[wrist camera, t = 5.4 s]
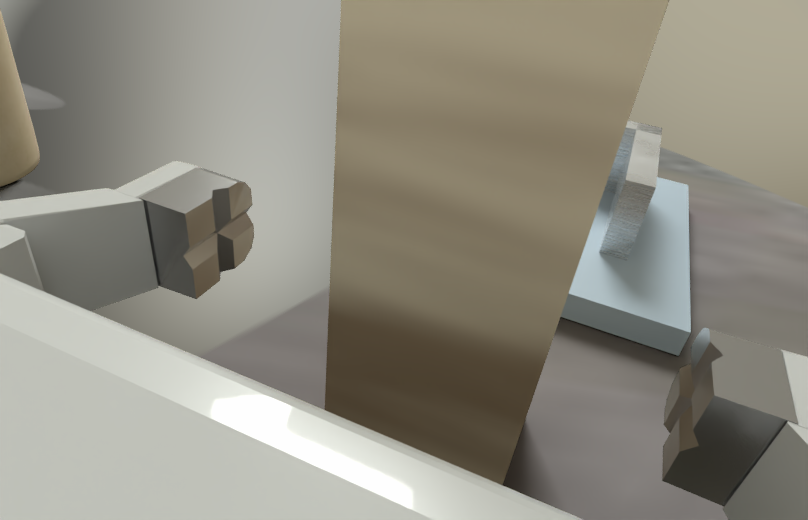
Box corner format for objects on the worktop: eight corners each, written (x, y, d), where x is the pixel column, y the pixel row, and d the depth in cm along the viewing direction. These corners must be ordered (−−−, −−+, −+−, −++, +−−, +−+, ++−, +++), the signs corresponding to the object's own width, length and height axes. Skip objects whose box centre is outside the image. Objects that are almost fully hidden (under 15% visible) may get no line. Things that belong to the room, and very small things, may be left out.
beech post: (483, 540, 12) (672, -9, 6) (322, 467, 13) (344, -64, 7) (523, 412, 15) (676, -36, 9) (391, 361, 16) (447, -72, 10)
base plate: (345, 245, 21) (347, 222, 21) (449, 142, 31) (452, 125, 30) (678, 355, 18) (690, 332, 17) (680, 203, 27) (688, 185, 27)
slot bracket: (433, 203, 23) (444, 132, 21) (480, 149, 28) (491, 88, 26) (626, 261, 21) (656, 187, 19) (638, 190, 26) (661, 128, 24)
